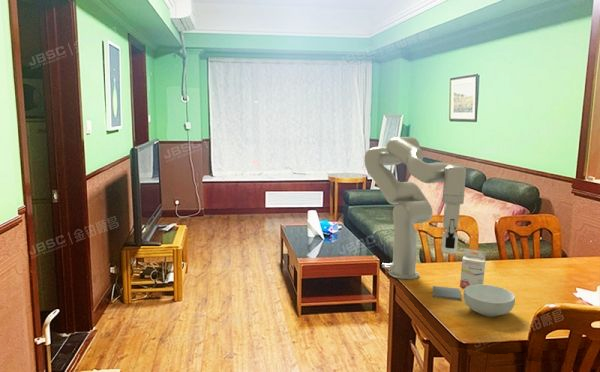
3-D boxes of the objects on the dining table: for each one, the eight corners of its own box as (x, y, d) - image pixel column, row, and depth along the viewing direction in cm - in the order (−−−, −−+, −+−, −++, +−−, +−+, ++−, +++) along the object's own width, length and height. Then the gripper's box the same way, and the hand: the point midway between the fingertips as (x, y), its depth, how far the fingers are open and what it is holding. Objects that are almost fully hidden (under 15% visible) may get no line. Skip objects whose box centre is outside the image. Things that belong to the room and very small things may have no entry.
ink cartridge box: (459, 287, 186) (462, 251, 184) (461, 283, 191) (463, 248, 189) (482, 290, 183) (485, 254, 181) (483, 286, 187) (486, 251, 185)
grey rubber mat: (432, 297, 176) (432, 295, 175) (432, 287, 185) (432, 285, 185) (460, 300, 173) (461, 298, 173) (459, 290, 182) (459, 288, 182)
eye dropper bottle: (453, 255, 173) (456, 224, 171) (439, 252, 177) (441, 221, 175) (458, 253, 177) (461, 222, 175) (444, 250, 180) (446, 219, 178)
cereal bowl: (463, 299, 174) (465, 281, 173) (512, 307, 168) (514, 288, 167) (460, 317, 158) (462, 297, 157) (514, 326, 152) (516, 305, 151)
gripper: (442, 194, 182) (438, 239, 185) (443, 202, 167) (439, 251, 169) (462, 195, 180) (458, 241, 183) (465, 203, 165) (461, 253, 168)
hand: (449, 246), depth 176 cm, fingers closed on eye dropper bottle, 3 cm apart
